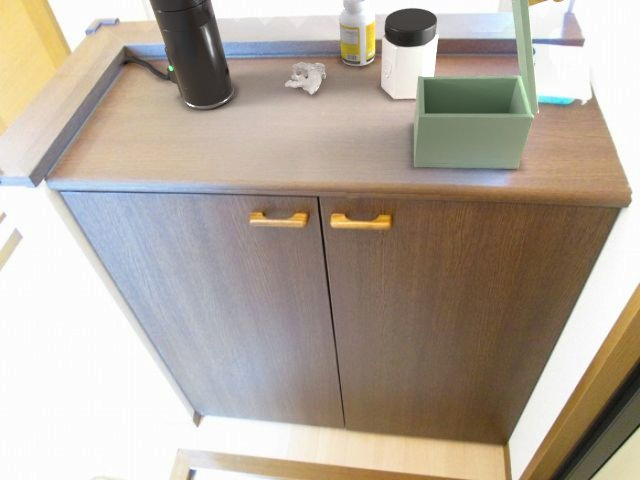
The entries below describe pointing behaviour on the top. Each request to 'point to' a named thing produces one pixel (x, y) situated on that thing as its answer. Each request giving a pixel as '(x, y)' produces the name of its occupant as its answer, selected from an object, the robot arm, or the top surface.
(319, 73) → the pelvis model
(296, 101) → the top surface
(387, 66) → the jar
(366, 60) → the pill bottle
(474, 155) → the chest
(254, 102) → the top surface
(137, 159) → the top surface
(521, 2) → the lid
